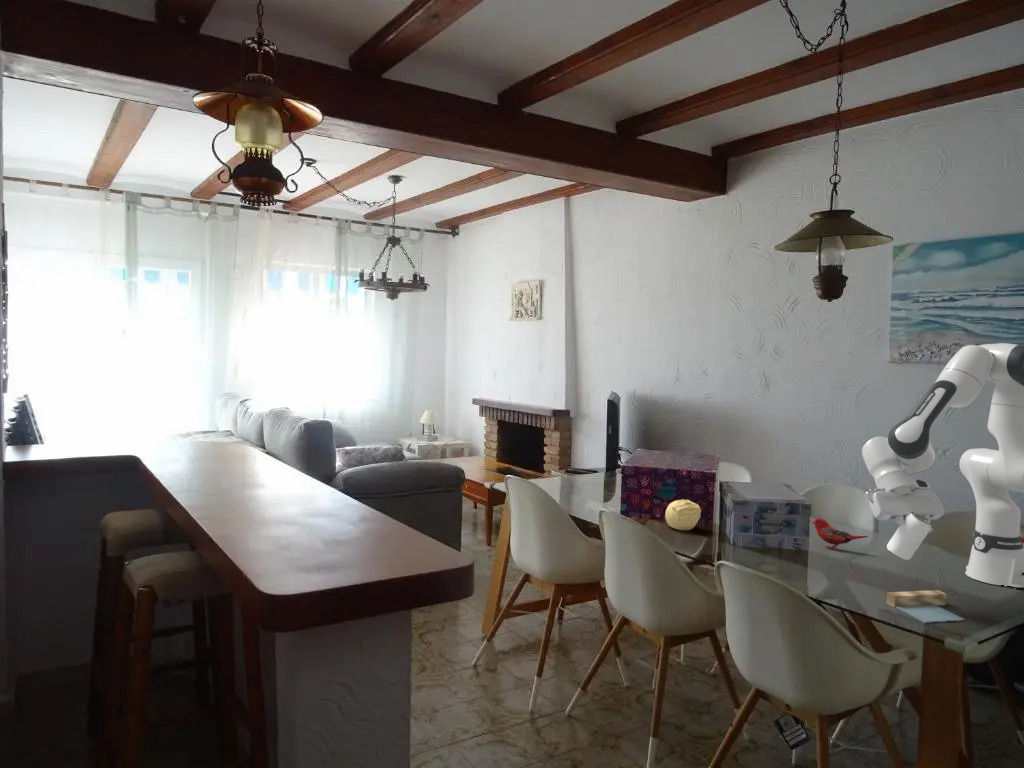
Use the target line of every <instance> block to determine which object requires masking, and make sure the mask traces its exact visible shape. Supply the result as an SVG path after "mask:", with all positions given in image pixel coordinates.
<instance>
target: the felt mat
mask: <svg viewBox="0 0 1024 768" xmlns="http://www.w3.org/2000/svg"><path fill="white" fill-rule="evenodd" d="M895 609H897V610H898V609H899V610H898V611H900V610H901V612H902V613H904V614H907V615H908V616H910V617H912V618H914V619H915V620H917V621H920V622H921V623H923V624H933V622H938V623H948V622H947V621H956V622H961V621H960V620H965V621H966V619H965V618H963V617H961V616H960V615H956V614H954V613H952V612H950V611H948V610H947V609H944V608H942V607H940V606H939V605H920V606H899V607H895Z"/></svg>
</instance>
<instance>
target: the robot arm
mask: <svg viewBox="0 0 1024 768" xmlns="http://www.w3.org/2000/svg"><path fill="white" fill-rule="evenodd" d="M987 380H988V381H994V383H995V387H994V390H993V393H992V397H991V402H990V409H989V413H988V414H989V415H988V419H987V420H988V421H987V430H988V432H989V433H990V434H991V435H992V436H993V437H994V438H995V440H996V441H997V445H998V450H997V449H992V448H987V447H985V448H984V447H982V448H981V447H980V448H979V447H978V448H970V449H967V450H965V451H964V453H962V455H961V457H960V459H959V469H960V472H961V474H962V475H963V476H964V477H965V478H966V480H967V482H969V484H970V487H971V489H972V492H973V495H974V499H975V503H976V504H975V507H976V511H975V512H976V514H975V527H974V529H973V532H972V541H973V542H972V543H973V544H972V545H971V550H970V554H969V555H970V556H969V559H968V563H967V565H966V566H965V575H966V576H967V577H969V578H971V579H973V580H976V581H979V582H983V583H986V584H991V585H995V586H1001V585H1004V586H1003V587H1007V586H1012V587H1024V545H1023V544H1024V536H1020V530H1021V518H1022V511H1021V509H1020V507H1019V506H1018V505H1017V504H1016V503H1015V502H1014V500H1012V498H1011V496H1010V494H1009V491H1012V492H1015V493H1016V492H1017V493H1024V344H1014V343H1007V342H998V343H986V344H985V343H977V344H968V345H965V346H962V347H961V348H960V349H959V350H958V351H957V352H956V353H955V354H954V355H953V356H952V358H951V359H950V360H949V361H948V362H947V363H946V365H945V366H944V368H943V369H942V370H941V372H940V374H939V375H938V377H937V378H936V380H935V381H934V383H932V385H931V386H930V387H929V388H928V389H927V391H926V392H925V394H924V395H922V397H921V398H920V400H919V401H918V402H917V404H916V405H915V406H914V408H913V409H912V410H911V411H910V412H909V414H908V415H907V416H906V417H905V418H904V419H902V420H901V421H899V422H897V423H896V424H895V425H894V426H892V427H891V429H890V431H889V432H888V436H887V437H884V436H881V435H880V436H874V437H872V438H871V439H869V440H867V441H866V442H865V443H864V445H862V448H861V454H862V455H861V456H862V459H863V461H864V464H865V466H866V469H867V470H868V473H869V474H870V475H871V477H873V480H874V484H875V486H876V488H868V490H867V491H866V492H865V496H866V497H867V499H868V502H869V507H870V510H871V512H872V514H873V517H874V518H875V519H876V520H878V521H895V523H896V525H898V527H899V526H900V527H901V526H902V525H905V521H904V519H905V518H906V516H907V515H909V514H911V512H915V513H913V514H916V515H917V514H919V515H921V516H923V517H925V518H926V519H928V520H929V521H930V522H931V523H932V521H931V520H939V519H940V518H941V517H942V516H943V515H945V508H944V506H943V504H942V502H941V501H940V499H939V497H938V496H937V494H936V493H935V492H934V491H932V490H931V487H932V486H931V484H930V483H929V481H927V480H926V481H925V480H921V479H918V478H916V477H913V476H911V475H914V474H919V473H923V472H925V471H927V470H929V469H931V468H932V467H933V466H934V464H935V462H936V460H937V459H936V458H937V455H936V452H935V449H934V447H933V444H932V441H931V429H932V427H933V425H934V424H935V423H936V422H937V420H938V419H939V418H940V417H941V415H942V413H943V412H944V411H945V409H947V408H948V407H950V408H953V409H954V408H955V409H960V408H964V407H968V406H969V405H971V403H972V402H973V401H974V400H975V399H976V398H977V397H978V396H979V394H980V392H981V390H982V389H983V387H984V385H985V384H986V382H987ZM933 530H934V529H933V527H932V526H931V527H930V531H929V532H928V534H931V533H932V532H933Z"/></svg>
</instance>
